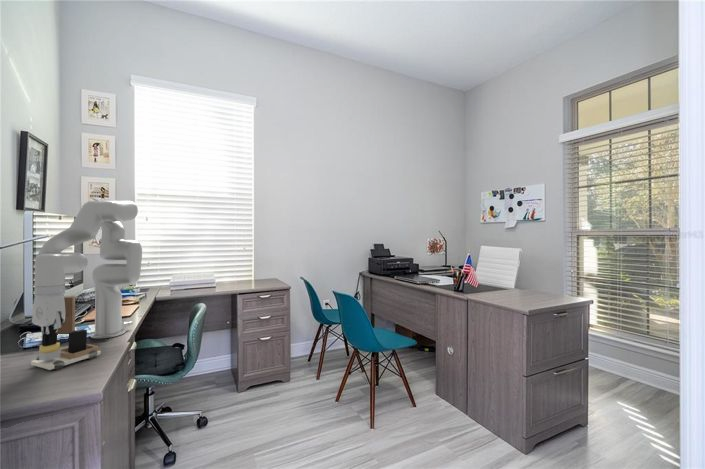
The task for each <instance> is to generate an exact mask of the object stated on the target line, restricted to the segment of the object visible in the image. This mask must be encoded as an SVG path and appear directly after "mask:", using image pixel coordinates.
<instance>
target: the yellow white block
mask: <svg viewBox="0 0 705 469" xmlns="http://www.w3.org/2000/svg"><path fill="white" fill-rule="evenodd" d="M61 349H62V348H61V342H58V341H57V343H56V344H54V345H50V346H42V344H41V345H39V351H38V357H39V359H40V360H44V361H48V360H51V359H55V358H58V357H60V354H61Z"/></svg>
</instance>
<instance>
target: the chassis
mask: <svg viewBox="0 0 705 469" xmlns="http://www.w3.org/2000/svg"><path fill="white" fill-rule="evenodd" d="M60 349H61V354H60V357H58V358H55V359H51V360H48V361H44V360H40V359H39V356H38V357H36V359H33V360H31V361H30V365H31V366H35V367H38V368H41V369H45V370H48V371H51V370H57V371H59V370H61V369H62V368H64V367H65V366H67V365H71V364H74V363H76V362H80V361H82V360H86V359H90V360H93V359H95V358H96V357H97V356H99V355H101V354H102V352H101V351H102V350H100V345H94V344H89V343H86V350H83V351H80V352H76V353H73V354H72V353H68V346H67V347H63V348H60Z"/></svg>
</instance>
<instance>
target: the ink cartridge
mask: <svg viewBox="0 0 705 469" xmlns="http://www.w3.org/2000/svg"><path fill="white" fill-rule="evenodd" d="M87 336H88V330H87V329H77V330H76V329H75V330H74V331H71V332H69V339H68V346H67V347H68V353H72V354H73V353H76V352H80V351H83V350H86V344H88V343H87V338H88V337H87Z"/></svg>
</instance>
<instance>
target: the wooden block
mask: <svg viewBox="0 0 705 469" xmlns="http://www.w3.org/2000/svg"><path fill="white" fill-rule="evenodd" d="M64 300H65V321H64V323H62V324H61V328H59V329H58V332H57V335H58V334H69V332H71V331H74V330H76V296H75V295H64Z"/></svg>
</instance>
